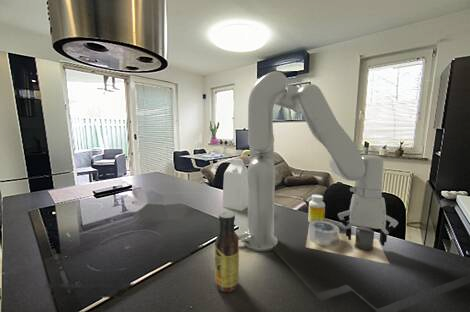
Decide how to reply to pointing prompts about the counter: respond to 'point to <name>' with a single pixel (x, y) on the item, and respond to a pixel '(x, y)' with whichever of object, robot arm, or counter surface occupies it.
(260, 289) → the counter surface
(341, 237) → the birch board
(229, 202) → the milk
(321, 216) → the supplement bottle
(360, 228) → the grey rounded canister
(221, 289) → the sauce bottle
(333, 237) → the lens barrel
